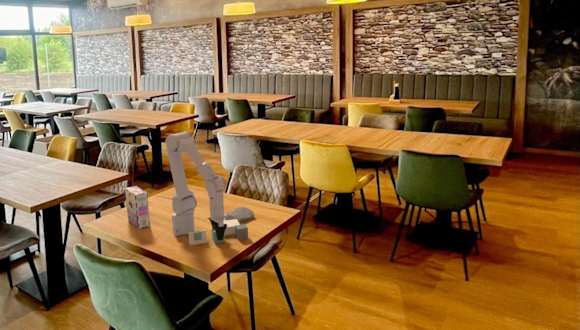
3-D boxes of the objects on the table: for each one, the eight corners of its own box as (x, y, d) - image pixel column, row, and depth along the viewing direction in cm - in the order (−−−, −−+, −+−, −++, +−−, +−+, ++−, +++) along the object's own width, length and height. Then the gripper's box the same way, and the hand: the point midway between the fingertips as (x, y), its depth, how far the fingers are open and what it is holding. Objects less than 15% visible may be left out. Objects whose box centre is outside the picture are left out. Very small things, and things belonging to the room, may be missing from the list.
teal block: (214, 243, 195) (213, 232, 194) (212, 239, 199) (211, 228, 198) (224, 241, 197) (224, 230, 195) (222, 237, 201) (221, 226, 199)
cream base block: (222, 236, 203) (222, 227, 202) (219, 229, 210) (219, 221, 209) (240, 234, 205) (240, 225, 204) (237, 227, 212) (236, 219, 211)
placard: (190, 245, 193) (189, 234, 192) (188, 242, 196) (188, 231, 195) (206, 242, 196) (206, 231, 194) (205, 239, 198) (204, 228, 197)
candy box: (150, 226, 213) (147, 192, 208) (138, 230, 209) (134, 195, 205) (139, 218, 223) (136, 185, 219) (127, 220, 220) (124, 187, 216)
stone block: (256, 220, 225) (241, 212, 230) (257, 211, 223) (242, 203, 228) (238, 229, 216) (223, 220, 221) (239, 220, 214) (224, 211, 219)
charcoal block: (238, 240, 198) (237, 229, 197) (235, 236, 202) (235, 225, 201) (248, 238, 200) (247, 227, 198) (245, 234, 204) (244, 224, 202)
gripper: (230, 210, 189) (231, 241, 192) (222, 199, 202) (223, 228, 205) (213, 212, 186) (214, 244, 190) (206, 201, 199) (207, 231, 203)
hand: (218, 236), depth 197 cm, fingers open, 7 cm apart
